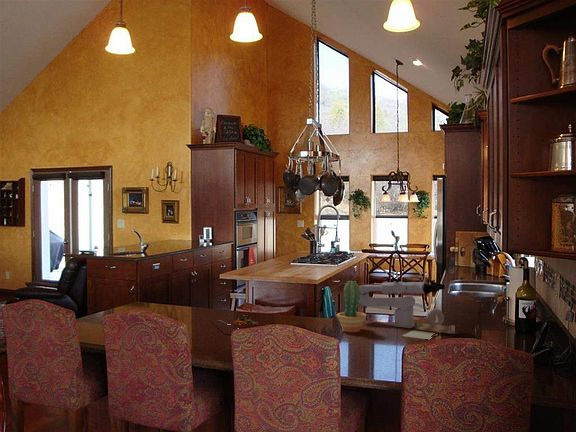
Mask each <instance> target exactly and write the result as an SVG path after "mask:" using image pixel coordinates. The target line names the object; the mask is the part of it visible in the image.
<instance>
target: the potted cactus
mask: <svg viewBox="0 0 576 432" xmlns="http://www.w3.org/2000/svg"><path fill="white" fill-rule="evenodd" d="M359 286H360V285H359V284H358V283H357V281H356V280H355V281H353V280H348V281H347V282H346V283H345V285H344V287H343V297H344V311H342V312H338V313H337V314H336V318H337V319H338V322H339V324H340V326H341V327H342V331H343V332H347V333H357V332H360V331H361V328H362V326H363V324H364V322H365V320H366V318H367V314H366V313H364V312H360V311H359V312H358V306H359V300H360V294H361V289H360V288H359Z"/></svg>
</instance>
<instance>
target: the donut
mask: <svg viewBox="0 0 576 432" xmlns="http://www.w3.org/2000/svg"><path fill="white" fill-rule="evenodd" d="M435 316H436V317H437V318H436V320H434V317H435ZM444 317H445V315H444V313H443V311H441V309H438V308H432V309H430V310H429V311H428V312H427V314H426V324H435V325H443V324H444V322H445V321H444V320H445V318H444Z"/></svg>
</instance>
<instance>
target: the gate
mask: <svg viewBox="0 0 576 432" xmlns="http://www.w3.org/2000/svg"><path fill="white" fill-rule="evenodd" d="M414 324H415V326H414V330H417V331H425V332H433V333H444V334H451V325H443V324H442V325H435V324H428V323H427V322H426V323H424V322H418V321H417V322H416V321H414Z"/></svg>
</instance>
